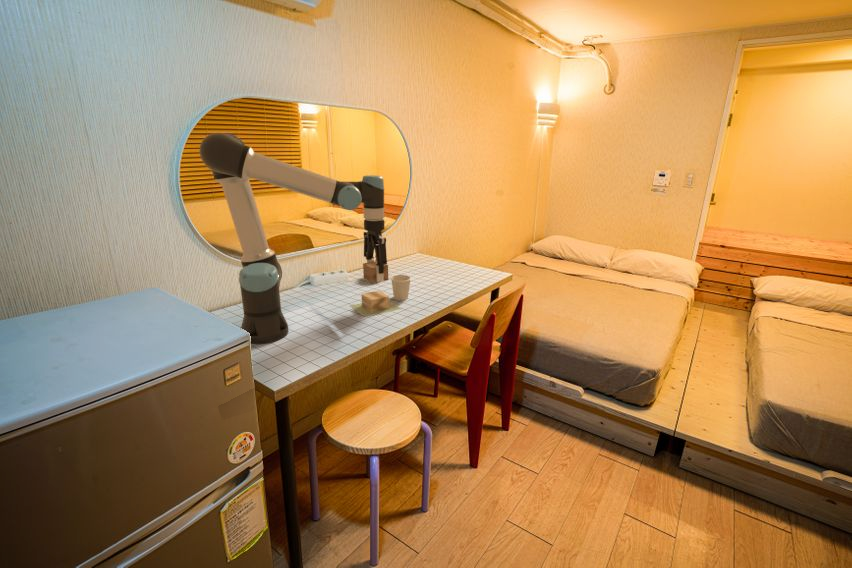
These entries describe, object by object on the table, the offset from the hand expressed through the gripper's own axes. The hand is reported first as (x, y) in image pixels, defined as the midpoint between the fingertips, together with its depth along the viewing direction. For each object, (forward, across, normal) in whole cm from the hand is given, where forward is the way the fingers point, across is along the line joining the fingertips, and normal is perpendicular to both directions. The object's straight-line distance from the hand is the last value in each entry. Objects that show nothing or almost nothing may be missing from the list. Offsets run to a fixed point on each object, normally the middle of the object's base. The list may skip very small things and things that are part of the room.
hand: (375, 278), depth 159 cm
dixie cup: (+13, +4, -14) cm, 20 cm away
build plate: (+13, 0, 0) cm, 13 cm away
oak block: (+12, 0, 0) cm, 12 cm away
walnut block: (0, 0, 0) cm, 0 cm away
